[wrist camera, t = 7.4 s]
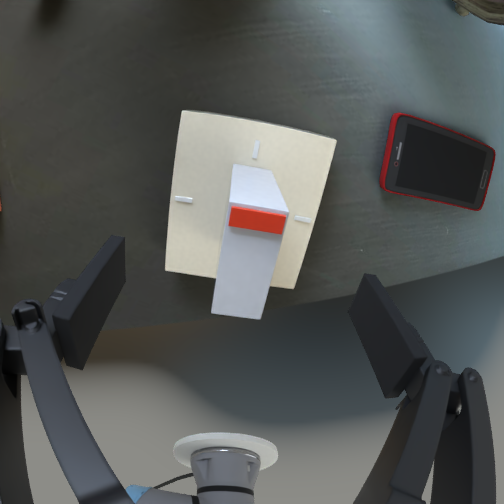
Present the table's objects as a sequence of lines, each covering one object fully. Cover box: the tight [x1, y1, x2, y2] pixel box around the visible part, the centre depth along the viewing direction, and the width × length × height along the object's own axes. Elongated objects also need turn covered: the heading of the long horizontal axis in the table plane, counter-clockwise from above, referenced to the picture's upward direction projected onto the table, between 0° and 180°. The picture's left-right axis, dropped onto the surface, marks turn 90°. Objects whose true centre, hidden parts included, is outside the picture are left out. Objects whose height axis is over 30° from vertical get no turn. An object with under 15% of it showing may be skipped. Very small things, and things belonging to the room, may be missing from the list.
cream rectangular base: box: [165, 110, 337, 289], centre depth 25 cm, size 14×12×3 cm
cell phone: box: [379, 113, 496, 211], centre depth 25 cm, size 8×15×1 cm, turn 84°
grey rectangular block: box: [211, 164, 289, 319], centre depth 20 cm, size 7×3×9 cm, turn 169°
